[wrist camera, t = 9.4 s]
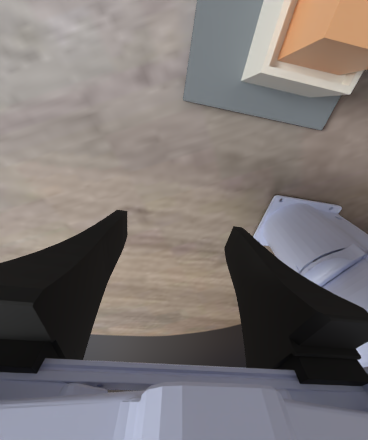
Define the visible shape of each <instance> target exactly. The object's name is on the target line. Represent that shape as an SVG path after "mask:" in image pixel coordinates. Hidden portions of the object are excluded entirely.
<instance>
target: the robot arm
mask: <svg viewBox="0 0 368 440" xmlns="http://www.w3.org/2000/svg"><path fill="white" fill-rule="evenodd" d="M280 199H282V200H281V201H279V200H280ZM330 207H331V208H330ZM341 209H342V207H341V206H339V205H335V204H329V203H323V202H317V201H311V200H305V199H299V198H293V197H287V196H281V195H276V196H274V197H273V199H272V201H271V203H270V205H269V207H268V209H267V210H266V212H265V214H264V216H263V218H262V220H261V222H260V224H259V226H258V228H257V230H256V232H255V234H254V236H251V235H250V234H249V233H248V232H247V231H246V230H245V229H243V228H242V227H235V226H233V229H232V231H231V234H230V236H229V238H228V241H227V243H226V246H225V256H226V262H227V265H228V269H229V272H230V275H231V279H232V282H233V285H234V289H235V292H236V296H237V301H238V307H239V312H240V318H241V325H242V332H243V339H244V346H245V357H246V366H247V367H246V368H238V367H217V366H197V365H176V364H154V363H133V362H114V361H92V360H83V358H84V354H85V351H86V347H87V344H88V340H89V337H90V334H91V331H92V328H93V324H94V321H95V318H96V315H97V312H98V309H99V306H100V303H101V300H102V297H103V294H104V291H105V288H106V285H107V283H108V281H109V278H110V276H111V274H112V272H113V270H114V267H115V265H116V263H117V261H118V259H119V257H120V255H121V253H122V250H123V248H124V245H125V242H126V238H127V211H122V210H116V211H115V212H113V213H112V214H110V215H109V216H107V217H106V218H104V219H103V220H101V221H100V222H98V223H97V224H95V225H93V226H92V227H90V228H88V229H87V230H85V231H83V232H81V233H79V234H78V235H76V236H74V237H72V238H69V239H67V240H65V241H63V242H61V243H58V244H56V245H53V246H51V247H48V248H46V249H43V250H40V251H38V252H35V253H32V254H29V255H26V256H23V257H19V258H16V259H13V260H10V261H6V262H2V263H0V440H368V234H367V233H365V232H364V231H362V230H361V229H359V228H358V227H356V226H355V225H353V224H352V223H350V222H349V221H348V220H346V219H345V218H343V217H342V216H340V215H339V214H338V213H339V212H340V211H341ZM262 245H265V246H270V248H271V249H272V251H273V252H274V254H275V255H276V257H275V256H274V255H273V254H272V253H271V252H269V251H268V250H267V249H266V248H265V247H264V246H262ZM107 390H134V391H128V392H115V393H114V392H113V393H108V392H107Z"/></svg>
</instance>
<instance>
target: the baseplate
mask: <svg viewBox="0 0 368 440" xmlns="http://www.w3.org/2000/svg"><path fill="white" fill-rule="evenodd" d="M263 1H264V0H197V5H196V12H195V19H194V26H193V33H192V40H191V47H190V54H189V61H188V68H187V75H186V82H185V89H184V96H183V100H184V101H188V102H193V103H197V104H202V105H207V106H211V107H216V108H220V109H225V110H229V111H234V112H239V113H243V114H248V115H252V116H257V117H262V118H266V119H271V120H275V121H280V122H285V123H289V124H294V125H298V126H303V127H308V128H312V129H317V130H322V129H323V127H324V125H325V123H326V122H327V120H328V118H329V116H330V114H331V113H332V111H333V109H334V107H335V105H336V104H337V102H338V100H339V98H340V96H341V95H338V96H325V97H311V98H310V97H306V96H301V95H297V94H293V93H289V92H285V91H280V90H276V89H272V88H268V87H264V86H259V85H255V84H251V83H247V82H243V81H241V79H242V75H243V72H244V68H245V65H246V61H247V58H248V54H249V51H250V47H251V44H252V40H253V36H254V33H255V29H256V26H257V22H258V19H259V15H260V12H261V8H262V5H263Z"/></svg>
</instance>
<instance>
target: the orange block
mask: <svg viewBox="0 0 368 440" xmlns="http://www.w3.org/2000/svg"><path fill="white" fill-rule="evenodd" d="M277 61H282V62H286V63H290V64H294V65H298V66H302V67H307V68H311V69H315V70H319V71H323V72H327V73H331V74H336V75H342V74H347V73H352V72H357V71H362V70H367V69H368V0H298V1H297V4H296V7H295V10H294V13H293V15H292V18H291V21H290V24H289V27H288V30H287V33H286V36H285V39H284V41H283V44H282V47H281V50H280V53H279V56H278V59H277Z"/></svg>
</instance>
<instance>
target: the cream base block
mask: <svg viewBox="0 0 368 440" xmlns="http://www.w3.org/2000/svg"><path fill="white" fill-rule="evenodd" d="M297 1H298V0H264V1H263V5H262V8H261V12H260V15H259V19H258V22H257V26H256V29H255V33H254V36H253V40H252V44H251V47H250V51H249V54H248V58H247V61H246V65H245V68H244V72H243V75H242V79H241V81H243V82H247V83H251V84H255V85H259V86H264V87H268V88H272V89H276V90H280V91H285V92H289V93H293V94H297V95H301V96H306V97H310V98H311V97H325V96H338V95H350V94H351V92H352V90H353V89H354V87H355V85H356V83H357V82H358V80H359V78H360V76H361V75H362V73H363V71H364V70H362V71H357V72H352V73H347V74H342V75H336V74H331V73H327V72H323V71H319V70H315V69H311V68H307V67H302V66H298V65H294V64H290V63H286V62H282V61H277V59H278V56H279V53H280V50H281V47H282V44H283V41H284V39H285V36H286V33H287V30H288V27H289V24H290V21H291V18H292V15H293V13H294V10H295V7H296V4H297Z"/></svg>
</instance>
